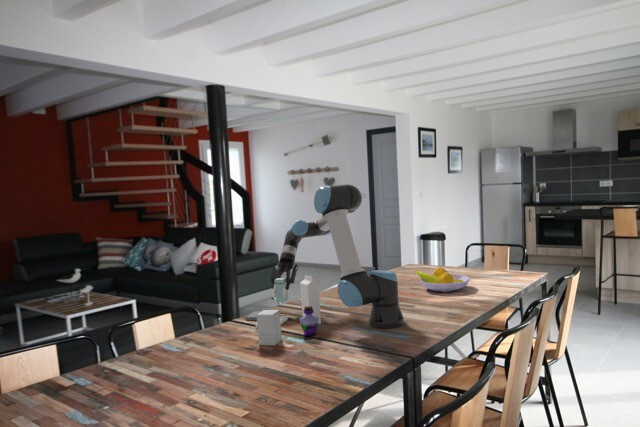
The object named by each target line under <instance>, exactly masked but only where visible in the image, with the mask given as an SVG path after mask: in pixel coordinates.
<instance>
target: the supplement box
mask: <svg viewBox="0 0 640 427" xmlns="http://www.w3.org/2000/svg"><path fill="white" fill-rule="evenodd" d="M280 315H281V314H280V309H263V310H262V311H261V312H260V313H258V314H257V315H256V317H257V320H256V323H257V327H258V328H257V336H258V345H259V346H277V345H278V344H280V342H281V341H282V340H283V337H282V327H281V325H282V324H280Z"/></svg>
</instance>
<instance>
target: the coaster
mask: <svg viewBox="0 0 640 427" xmlns="http://www.w3.org/2000/svg"><path fill="white" fill-rule="evenodd" d="M260 312H261V311H259V310H257V311H255V310H254V311H253V312H251V313H249V314H248V315H246V316H245V321H257V317H256V315H257V314H258V313H260Z"/></svg>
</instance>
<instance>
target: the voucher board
mask: <svg viewBox="0 0 640 427" xmlns="http://www.w3.org/2000/svg"><path fill="white" fill-rule="evenodd" d="M287 320H288V315H286V314H284V315H283V314H280V324H281V325H283V324H284V323H285V322H286V321H287ZM255 329H258V327H257V322H256V323H255Z"/></svg>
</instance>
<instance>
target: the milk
mask: <svg viewBox="0 0 640 427" xmlns="http://www.w3.org/2000/svg"><path fill="white" fill-rule="evenodd" d="M299 290H300V300H301V302H300V303H301V313H302V317H304V316H306V314H304V307H305V306H312V309H313V312H314V313H312V315H313V316H318V317H319V320H318V325H321V324H322V317H321V304H320V302H321V301H320V292H319V282H318V281H315V280H314V279H313V276H310V275H304V279H303V280H302V281H301V282H300V283H299Z"/></svg>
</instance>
